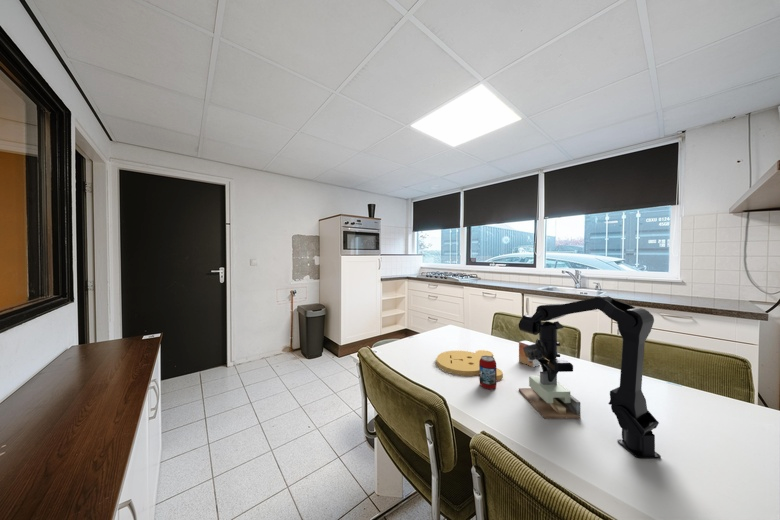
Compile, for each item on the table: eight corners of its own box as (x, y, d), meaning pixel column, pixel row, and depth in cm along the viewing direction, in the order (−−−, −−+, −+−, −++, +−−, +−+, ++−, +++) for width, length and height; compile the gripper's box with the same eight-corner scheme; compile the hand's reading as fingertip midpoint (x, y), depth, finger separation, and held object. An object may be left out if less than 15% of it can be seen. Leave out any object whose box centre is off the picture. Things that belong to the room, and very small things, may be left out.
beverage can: (478, 388, 107) (478, 359, 107) (480, 380, 113) (480, 354, 113) (495, 391, 104) (495, 362, 104) (497, 384, 110) (497, 356, 110)
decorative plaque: (435, 377, 118) (505, 382, 112) (435, 371, 118) (504, 376, 112) (437, 352, 149) (491, 355, 143) (437, 347, 149) (491, 350, 143)
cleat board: (580, 418, 86) (580, 402, 86) (544, 418, 87) (544, 402, 86) (548, 390, 104) (548, 377, 104) (518, 390, 105) (518, 377, 104)
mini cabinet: (570, 403, 89) (570, 380, 89) (547, 403, 89) (547, 380, 89) (549, 385, 101) (549, 365, 101) (529, 385, 101) (528, 365, 101)
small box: (518, 361, 133) (518, 341, 133) (526, 359, 135) (525, 339, 135) (532, 367, 125) (532, 346, 125) (540, 365, 128) (540, 344, 128)
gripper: (514, 331, 105) (514, 369, 105) (540, 347, 86) (541, 393, 86) (541, 330, 104) (542, 368, 105) (574, 347, 86) (574, 393, 86)
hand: (548, 380), depth 95 cm, fingers closed on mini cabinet
